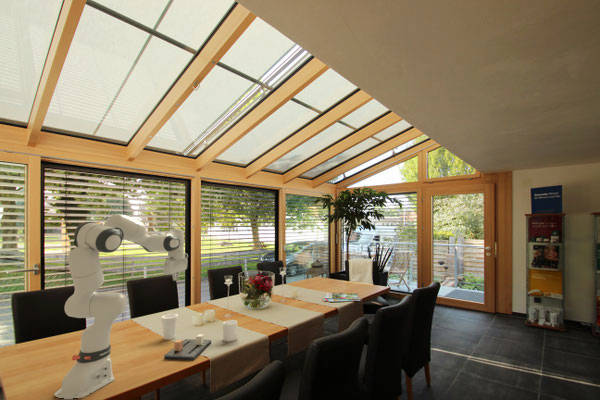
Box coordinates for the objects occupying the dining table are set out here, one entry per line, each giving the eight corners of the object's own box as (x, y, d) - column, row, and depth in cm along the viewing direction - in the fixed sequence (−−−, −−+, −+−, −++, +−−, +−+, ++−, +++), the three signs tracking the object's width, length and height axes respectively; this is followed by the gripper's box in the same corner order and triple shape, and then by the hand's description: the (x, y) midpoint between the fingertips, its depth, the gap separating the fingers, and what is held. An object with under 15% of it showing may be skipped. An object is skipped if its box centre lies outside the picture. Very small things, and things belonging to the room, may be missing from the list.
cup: (224, 342, 179) (224, 325, 180) (221, 336, 190) (221, 319, 191) (238, 340, 182) (238, 323, 183) (234, 333, 193) (234, 317, 194)
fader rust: (179, 352, 163) (179, 342, 164) (174, 352, 164) (174, 342, 164) (182, 349, 167) (182, 339, 167) (177, 349, 167) (177, 339, 168)
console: (193, 360, 157) (193, 356, 157) (164, 359, 159) (164, 355, 159) (211, 343, 178) (211, 339, 179) (185, 342, 180) (185, 339, 181)
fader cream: (201, 346, 171) (201, 336, 171) (196, 346, 171) (196, 336, 172) (203, 343, 175) (203, 334, 175) (198, 343, 175) (198, 334, 175)
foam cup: (157, 339, 186) (158, 317, 187) (168, 334, 195) (168, 313, 196) (170, 341, 183) (171, 319, 184) (181, 335, 192) (181, 314, 193)
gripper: (171, 258, 169) (170, 283, 167) (189, 254, 189) (189, 277, 188) (160, 258, 169) (160, 283, 168) (179, 254, 190) (179, 276, 188)
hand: (175, 280), depth 178 cm, fingers closed
